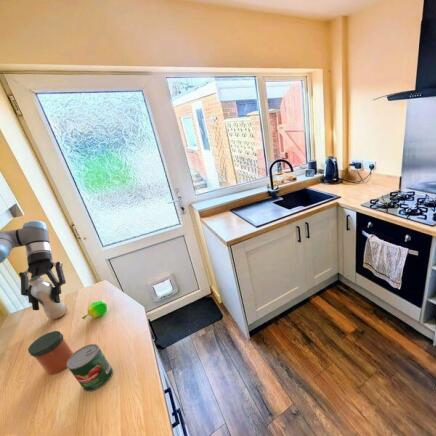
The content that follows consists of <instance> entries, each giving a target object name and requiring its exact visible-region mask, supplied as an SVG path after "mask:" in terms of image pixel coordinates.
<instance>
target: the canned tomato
mask: <svg viewBox="0 0 436 436" xmlns="http://www.w3.org/2000/svg"><path fill="white" fill-rule="evenodd" d="M73 353H74V354H73V355H72V356H71V357H70V358H69V359H68V361H67V369H68V370H69V371H70V373H71V374H72V376H74V378H75V379H76V381H77V382H78V383H79V385H80V387H82V389H83V391H85V392H87V393H91V392H95V391H97V390H99V389H101V388H102V387H103V386H105V385H106V384H107V383H108V382H109V381H110V379H111V378H112V375H113V373H114V369H113V367H112V365H111V364H110V363H109V361H108V359H107V358H106V356H105V354H104V353H103V351H102V350H101V348H100V347H99V345H98V344H97V343H90V344H87V345H84V346H82V347H81V348H79V349H78V350H76V351H75V352H73Z"/></svg>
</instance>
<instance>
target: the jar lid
mask: <svg viewBox="0 0 436 436" xmlns="http://www.w3.org/2000/svg"><path fill="white" fill-rule="evenodd" d="M63 339H64V335H63V333H62V332H60V330H54V331H50V332H47V333H45V334H43V335H41V336H39V337H38V338H36V339H35V340H34V341H33V342H32V343H31V344H30V345H29V346H28V349H27V351H28V354H29V355H30V356H31V357H33V358H35V357H38V356H42V355H44V354H47V353H49V352H50V351H52V350H53V349H55V348H56V347H57V346H58V345H59V344H60V343H61V342H62V340H63Z"/></svg>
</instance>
